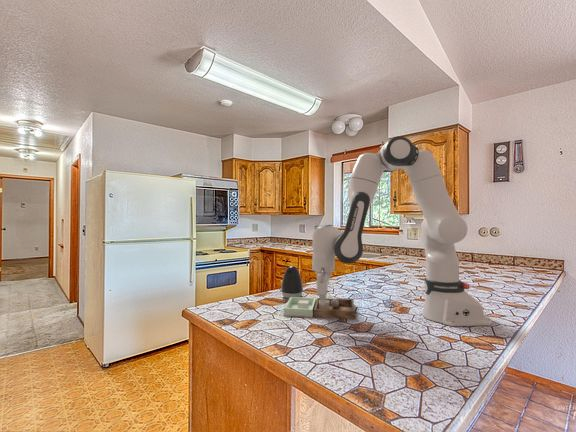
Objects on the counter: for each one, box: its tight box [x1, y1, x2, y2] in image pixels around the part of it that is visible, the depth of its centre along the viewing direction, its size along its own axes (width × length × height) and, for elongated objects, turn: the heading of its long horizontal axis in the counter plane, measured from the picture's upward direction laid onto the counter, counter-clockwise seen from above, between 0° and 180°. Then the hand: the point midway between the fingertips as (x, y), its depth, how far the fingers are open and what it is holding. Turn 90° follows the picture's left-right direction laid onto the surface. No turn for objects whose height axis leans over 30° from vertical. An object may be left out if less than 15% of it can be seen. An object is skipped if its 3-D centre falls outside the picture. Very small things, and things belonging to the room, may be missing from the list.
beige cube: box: [319, 300, 330, 310], centre depth 118 cm, size 4×4×4 cm
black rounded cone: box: [280, 265, 304, 300], centre depth 140 cm, size 10×10×15 cm
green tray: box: [283, 296, 317, 318], centre depth 121 cm, size 11×16×4 cm
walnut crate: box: [313, 297, 356, 320], centre depth 119 cm, size 15×16×4 cm
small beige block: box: [298, 300, 309, 309], centre depth 118 cm, size 4×4×4 cm
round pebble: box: [331, 298, 339, 308], centre depth 123 cm, size 3×3×3 cm
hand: (323, 300), depth 119 cm, fingers open, 8 cm apart
